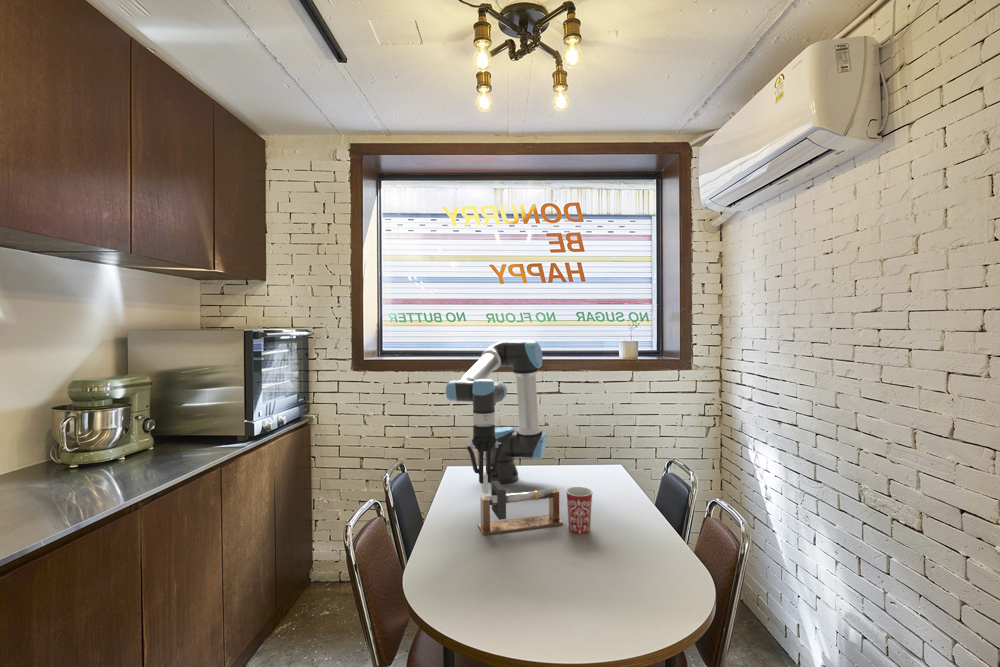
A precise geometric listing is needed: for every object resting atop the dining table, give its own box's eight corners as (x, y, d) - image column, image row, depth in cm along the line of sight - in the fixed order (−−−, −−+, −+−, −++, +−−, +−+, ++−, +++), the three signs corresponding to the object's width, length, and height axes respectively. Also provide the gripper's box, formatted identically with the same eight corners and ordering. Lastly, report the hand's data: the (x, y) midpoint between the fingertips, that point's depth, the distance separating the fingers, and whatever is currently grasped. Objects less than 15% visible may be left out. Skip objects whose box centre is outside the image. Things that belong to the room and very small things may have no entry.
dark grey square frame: (499, 519, 161) (498, 490, 161) (491, 509, 171) (491, 481, 170) (506, 518, 162) (505, 489, 161) (498, 508, 171) (497, 480, 171)
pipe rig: (483, 535, 161) (483, 501, 160) (478, 525, 168) (477, 493, 168) (563, 524, 168) (562, 492, 168) (554, 516, 176) (554, 484, 176)
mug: (593, 536, 159) (593, 496, 159) (566, 534, 160) (565, 495, 160) (592, 521, 171) (591, 483, 171) (566, 519, 173) (566, 482, 173)
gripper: (467, 427, 159) (468, 498, 159) (505, 425, 162) (505, 493, 163) (463, 423, 166) (464, 490, 167) (499, 421, 170) (500, 486, 170)
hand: (484, 492), depth 165 cm, fingers closed
